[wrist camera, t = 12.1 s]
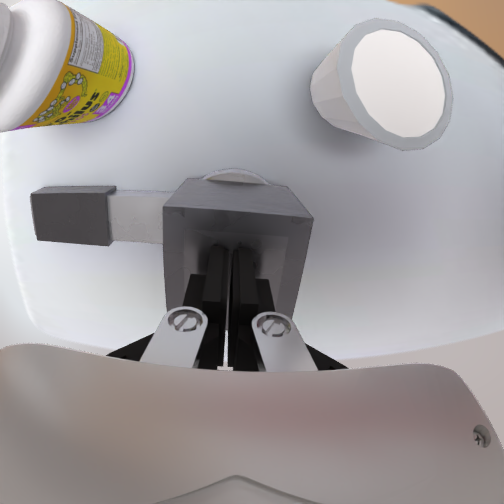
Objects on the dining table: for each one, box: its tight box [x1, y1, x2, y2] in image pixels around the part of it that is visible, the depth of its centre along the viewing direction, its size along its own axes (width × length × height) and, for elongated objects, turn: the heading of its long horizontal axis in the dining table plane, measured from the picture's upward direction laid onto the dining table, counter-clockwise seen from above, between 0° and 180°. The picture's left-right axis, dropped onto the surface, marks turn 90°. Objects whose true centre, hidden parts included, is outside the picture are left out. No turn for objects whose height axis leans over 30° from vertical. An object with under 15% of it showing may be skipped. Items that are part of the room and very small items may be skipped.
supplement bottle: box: [0, 0, 134, 132], centre depth 8 cm, size 7×7×13 cm
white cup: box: [310, 18, 453, 151], centre depth 12 cm, size 7×7×7 cm
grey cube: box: [163, 178, 314, 330], centre depth 15 cm, size 6×6×6 cm
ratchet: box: [30, 168, 270, 246], centre depth 16 cm, size 20×7×6 cm, turn 84°
